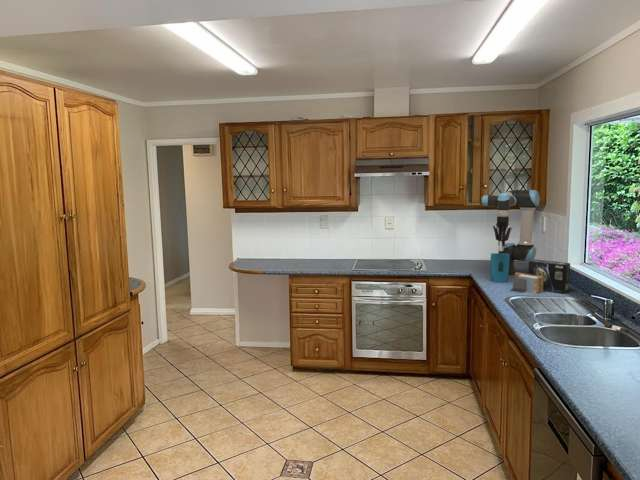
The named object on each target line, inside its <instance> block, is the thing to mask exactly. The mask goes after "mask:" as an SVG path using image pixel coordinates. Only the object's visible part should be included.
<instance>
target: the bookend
mask: <svg viewBox="0 0 640 480" xmlns="http://www.w3.org/2000/svg"><path fill="white" fill-rule="evenodd" d="M525 288H526V280H524V279H518V278H515V277H512V288H511V289H510V290H509V291H510V292H516V293H519V294H523V293H526V291H525Z"/></svg>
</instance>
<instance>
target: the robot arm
mask: <svg viewBox="0 0 640 480" xmlns="http://www.w3.org/2000/svg"><path fill="white" fill-rule="evenodd" d="M481 204H482V206H483V207H497V211H496V214H497V215H496V225H493V226H492V228H493V231H494V236H495V240H496V241H498V243H497V246H498V253H507V254H510V257H509V274H508V275H515V273H516V272H517V270H516V269H517V268H516V266H515V261H518V262H519V261H520V262H528V263H529V261H531V260H535V259H536V256H537V255H536V254H537V247H536V246H534V245H535V244H534V243H533V230H534V215H535V214H534V213H535V210H536V209H537V207H538V206H540V193H539V191H537V190H535V189H512V190H508V191H504V192H503V193H498V194H492V195H491V194H490V195H488V194H487V195H482V197H481ZM514 206H519V209H520V210H521V212H520V227H519V229H520V230H519V241H518V242H517V244H516V243H515V242H507V241H509V238H510V234H511V231H512V230H513V227H512V226H510V225H509V224H510V223H509V222H510V217H509V216H510V208H512V207H514ZM499 271H501V262H500V263H499V268H498V272H499Z"/></svg>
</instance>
